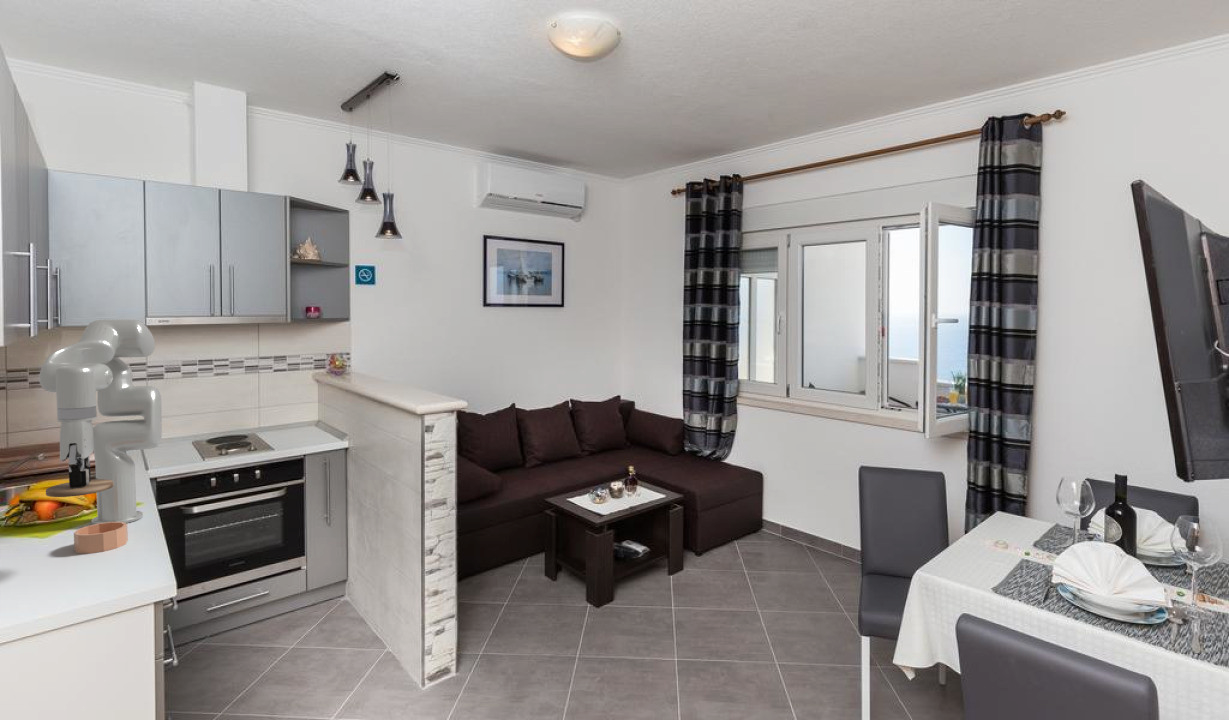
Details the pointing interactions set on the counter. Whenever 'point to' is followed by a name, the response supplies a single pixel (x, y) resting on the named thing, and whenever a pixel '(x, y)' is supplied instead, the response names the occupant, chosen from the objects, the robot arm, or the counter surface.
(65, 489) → the lid
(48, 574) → the counter surface
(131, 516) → the robot arm
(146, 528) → the counter surface
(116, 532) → the bowl
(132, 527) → the counter surface
